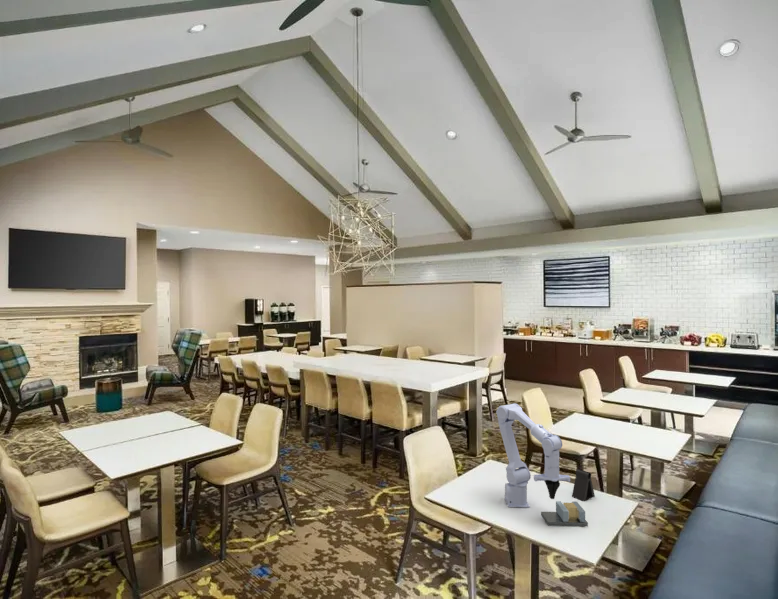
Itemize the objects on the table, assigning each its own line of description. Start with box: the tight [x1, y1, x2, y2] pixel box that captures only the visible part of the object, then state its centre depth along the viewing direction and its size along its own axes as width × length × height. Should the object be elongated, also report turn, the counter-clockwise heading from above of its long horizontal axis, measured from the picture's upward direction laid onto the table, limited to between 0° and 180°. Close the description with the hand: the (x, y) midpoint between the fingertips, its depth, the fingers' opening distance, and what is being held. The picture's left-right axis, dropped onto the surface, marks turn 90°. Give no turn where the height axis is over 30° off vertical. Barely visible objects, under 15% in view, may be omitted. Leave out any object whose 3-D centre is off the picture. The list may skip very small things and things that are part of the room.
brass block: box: [563, 502, 577, 520], centre depth 189 cm, size 4×4×5 cm
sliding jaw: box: [555, 500, 569, 522], centre depth 189 cm, size 2×9×4 cm, turn 178°
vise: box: [540, 501, 589, 527], centre depth 189 cm, size 16×9×6 cm, turn 88°
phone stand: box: [571, 468, 596, 502], centre depth 211 cm, size 9×6×12 cm, turn 125°
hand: (551, 497), depth 189 cm, fingers closed
